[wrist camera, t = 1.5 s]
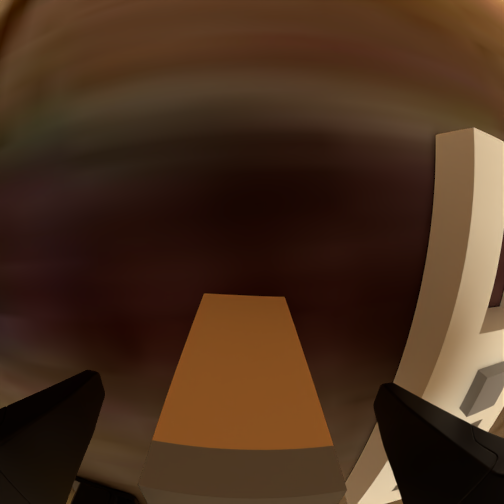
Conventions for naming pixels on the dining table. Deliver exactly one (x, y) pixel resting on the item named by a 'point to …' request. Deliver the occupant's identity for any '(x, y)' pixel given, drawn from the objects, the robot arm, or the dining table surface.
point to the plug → (242, 414)
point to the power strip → (452, 304)
